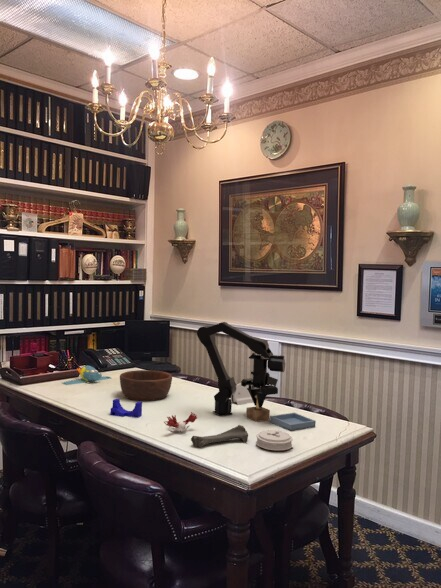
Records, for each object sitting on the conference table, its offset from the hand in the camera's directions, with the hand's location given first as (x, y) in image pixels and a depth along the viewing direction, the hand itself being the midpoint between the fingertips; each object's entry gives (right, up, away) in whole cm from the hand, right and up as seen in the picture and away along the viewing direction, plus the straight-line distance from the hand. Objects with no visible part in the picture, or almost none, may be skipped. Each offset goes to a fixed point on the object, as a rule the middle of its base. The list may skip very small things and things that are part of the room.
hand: (258, 406), depth 209 cm
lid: (+3, -7, -33) cm, 34 cm away
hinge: (-4, -4, +28) cm, 29 cm away
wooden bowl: (-52, -2, +30) cm, 60 cm away
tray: (+13, -6, -6) cm, 16 cm away
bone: (-16, -6, -33) cm, 37 cm away
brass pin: (0, -5, 0) cm, 5 cm away
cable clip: (-55, -3, -3) cm, 55 cm away
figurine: (-32, -5, -21) cm, 38 cm away
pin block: (0, -5, 0) cm, 5 cm away
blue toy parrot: (-87, 0, +57) cm, 103 cm away
